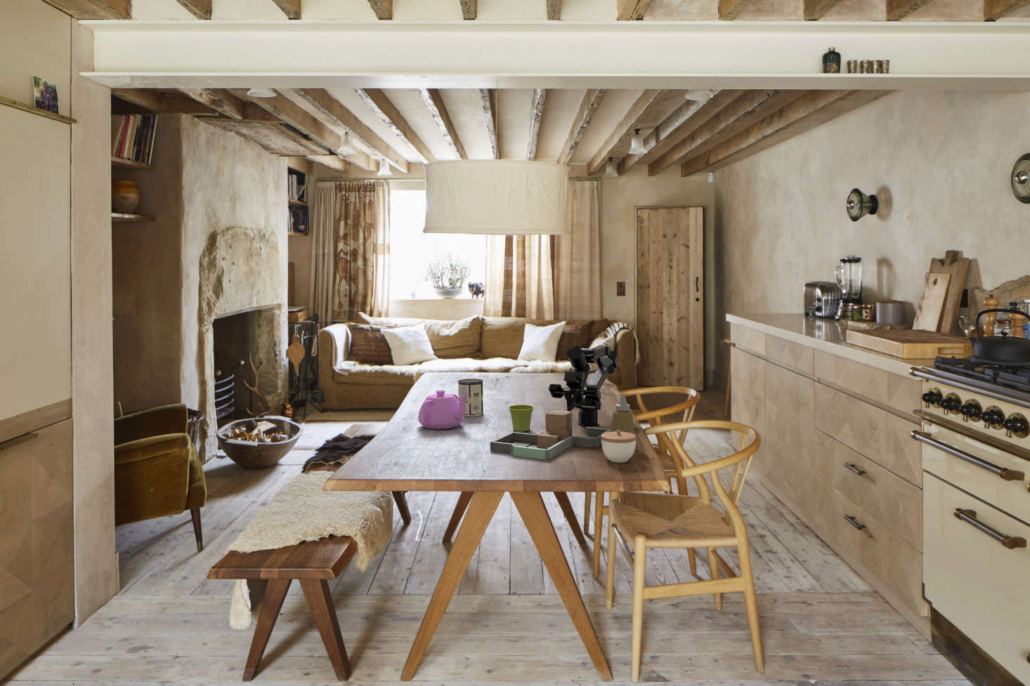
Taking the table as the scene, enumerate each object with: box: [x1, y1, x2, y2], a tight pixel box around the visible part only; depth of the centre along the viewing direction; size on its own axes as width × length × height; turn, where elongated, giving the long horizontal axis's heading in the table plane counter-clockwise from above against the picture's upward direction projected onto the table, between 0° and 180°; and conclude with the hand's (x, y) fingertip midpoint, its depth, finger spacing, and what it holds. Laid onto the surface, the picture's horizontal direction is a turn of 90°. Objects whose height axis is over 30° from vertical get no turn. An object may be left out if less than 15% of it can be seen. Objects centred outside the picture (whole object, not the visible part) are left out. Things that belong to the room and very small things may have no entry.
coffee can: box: [457, 378, 484, 417], centre depth 287 cm, size 10×10×14 cm
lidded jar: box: [601, 430, 637, 463], centre depth 216 cm, size 11×11×9 cm
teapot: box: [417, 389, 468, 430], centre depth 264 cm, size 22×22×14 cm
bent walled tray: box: [489, 426, 611, 461], centre depth 236 cm, size 36×30×3 cm
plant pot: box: [508, 404, 535, 433], centre depth 258 cm, size 9×9×9 cm
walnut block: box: [536, 409, 573, 449], centre depth 237 cm, size 14×7×10 cm, turn 153°
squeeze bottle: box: [610, 393, 635, 434], centre depth 230 cm, size 8×8×18 cm
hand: (568, 411), depth 248 cm, fingers closed
